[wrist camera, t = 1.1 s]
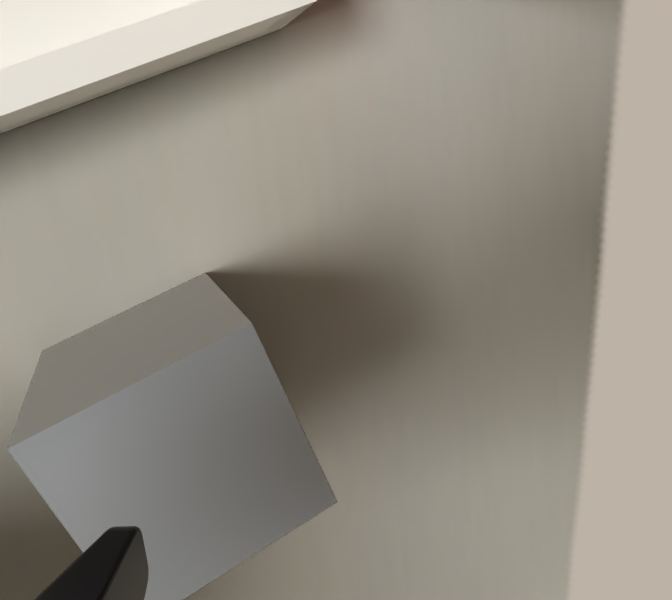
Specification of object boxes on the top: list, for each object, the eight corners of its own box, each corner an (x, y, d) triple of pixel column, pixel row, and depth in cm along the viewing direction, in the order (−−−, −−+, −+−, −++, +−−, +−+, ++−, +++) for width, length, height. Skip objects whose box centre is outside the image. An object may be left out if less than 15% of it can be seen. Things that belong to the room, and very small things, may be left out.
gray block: (128, 482, 17) (138, 628, 12) (42, 350, 15) (6, 449, 10) (270, 403, 18) (337, 501, 13) (205, 272, 17) (251, 323, 11)
